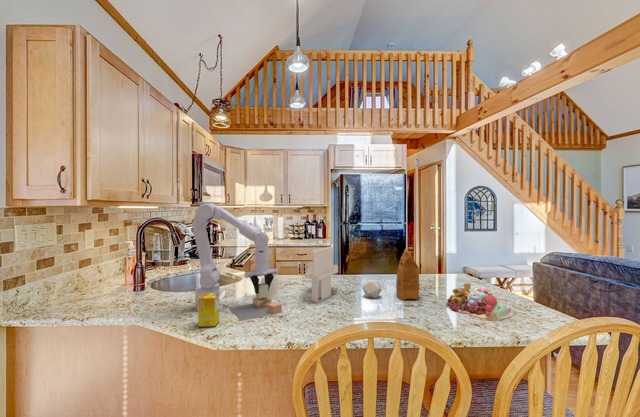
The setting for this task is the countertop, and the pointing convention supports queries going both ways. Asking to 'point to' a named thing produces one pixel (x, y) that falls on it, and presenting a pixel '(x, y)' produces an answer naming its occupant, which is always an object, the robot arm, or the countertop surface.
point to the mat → (249, 312)
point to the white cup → (272, 286)
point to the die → (372, 288)
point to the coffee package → (407, 277)
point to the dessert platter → (478, 303)
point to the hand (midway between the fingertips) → (261, 292)
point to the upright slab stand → (321, 273)
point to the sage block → (262, 290)
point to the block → (274, 307)
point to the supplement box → (208, 310)
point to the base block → (261, 302)
